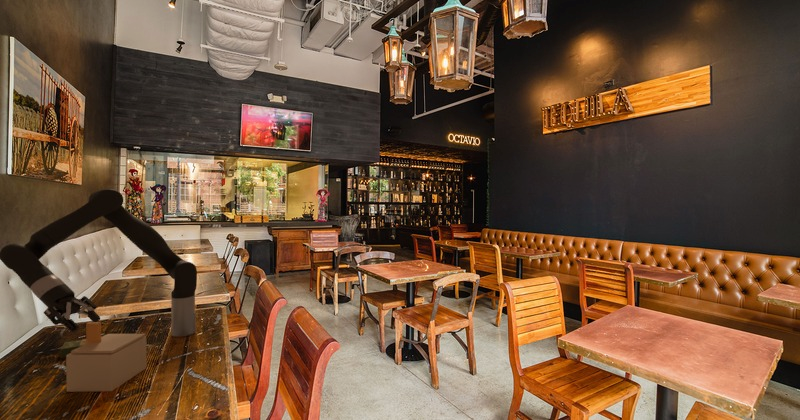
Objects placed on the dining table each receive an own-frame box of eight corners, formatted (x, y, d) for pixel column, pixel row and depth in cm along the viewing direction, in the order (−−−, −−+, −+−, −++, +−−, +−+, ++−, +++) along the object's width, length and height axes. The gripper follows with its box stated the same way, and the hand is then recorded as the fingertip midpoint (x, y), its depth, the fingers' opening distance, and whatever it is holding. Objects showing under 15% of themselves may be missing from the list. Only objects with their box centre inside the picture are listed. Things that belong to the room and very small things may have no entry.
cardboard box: (146, 368, 129) (146, 336, 129) (111, 391, 113) (111, 354, 113) (107, 368, 129) (106, 336, 129) (66, 391, 113) (66, 355, 113)
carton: (113, 350, 146) (113, 339, 146) (59, 359, 136) (59, 348, 136) (114, 343, 152) (114, 333, 152) (63, 352, 143) (63, 341, 143)
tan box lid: (145, 335, 128) (145, 315, 128) (112, 353, 113) (112, 330, 113) (105, 336, 128) (105, 315, 128) (67, 353, 113) (67, 330, 113)
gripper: (39, 288, 113) (76, 324, 113) (79, 279, 127) (112, 310, 128) (22, 305, 113) (59, 341, 113) (64, 293, 127) (97, 325, 128)
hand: (87, 325), depth 121 cm, fingers open, 8 cm apart
